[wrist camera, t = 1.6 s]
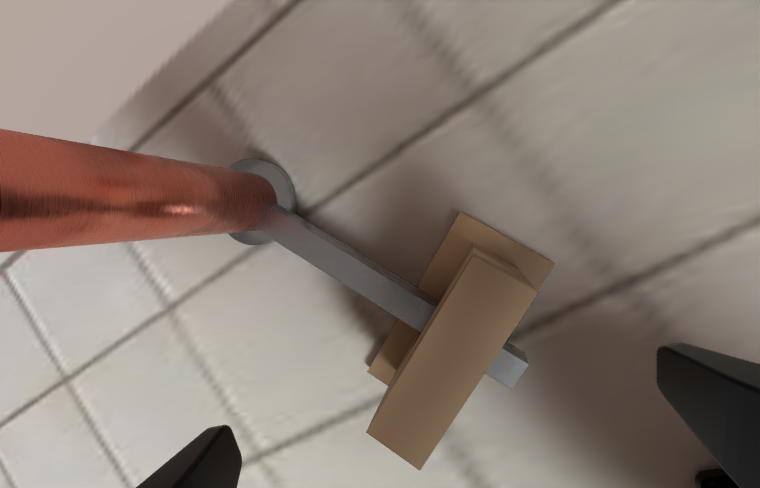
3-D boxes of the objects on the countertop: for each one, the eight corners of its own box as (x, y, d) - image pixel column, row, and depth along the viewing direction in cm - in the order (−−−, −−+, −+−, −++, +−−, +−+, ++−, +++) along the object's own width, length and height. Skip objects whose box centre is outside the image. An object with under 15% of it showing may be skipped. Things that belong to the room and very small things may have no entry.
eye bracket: (552, 261, 17) (593, 287, 11) (447, 420, 19) (436, 511, 13) (460, 211, 18) (454, 211, 12) (369, 367, 20) (327, 432, 14)
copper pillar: (542, 319, 17) (975, 991, 2) (489, 396, 18) (562, 1211, 3) (242, 146, 20) (-351, -26, 6) (212, 218, 21) (-363, 232, 7)
